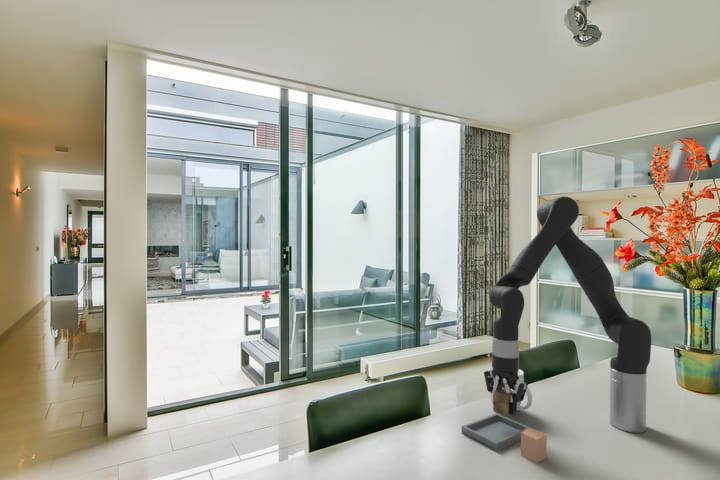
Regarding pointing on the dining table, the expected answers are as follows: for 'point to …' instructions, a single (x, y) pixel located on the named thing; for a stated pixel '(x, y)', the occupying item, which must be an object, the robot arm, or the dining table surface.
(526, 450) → the block
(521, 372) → the mug
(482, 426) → the tray
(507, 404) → the block
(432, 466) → the dining table surface
